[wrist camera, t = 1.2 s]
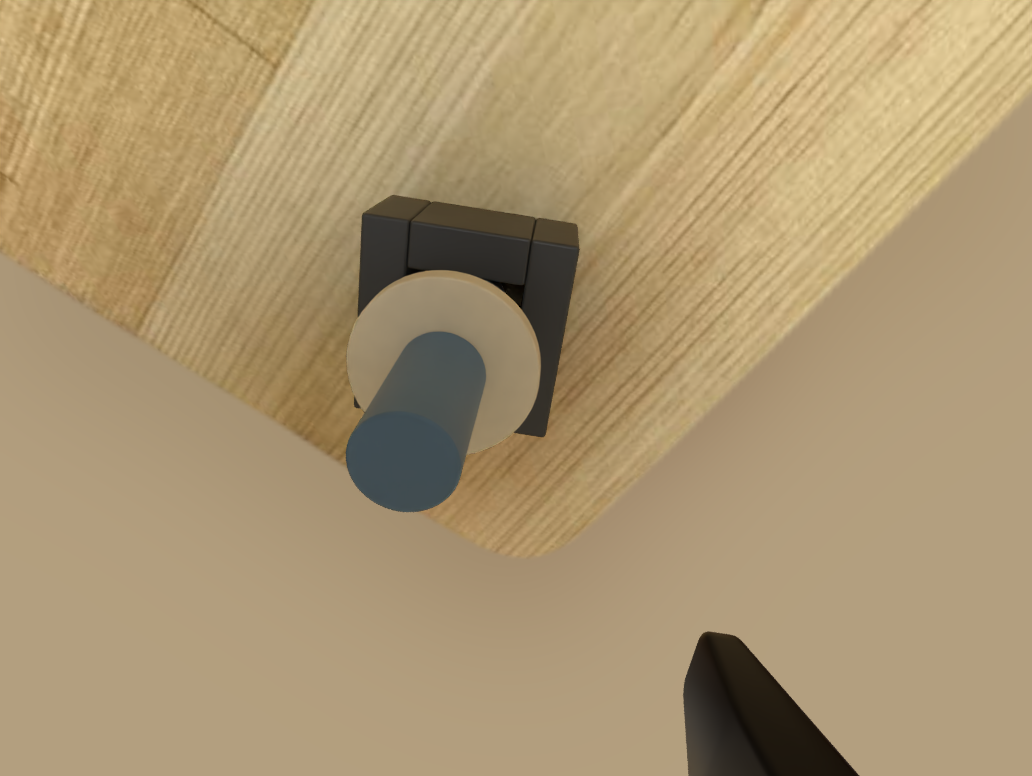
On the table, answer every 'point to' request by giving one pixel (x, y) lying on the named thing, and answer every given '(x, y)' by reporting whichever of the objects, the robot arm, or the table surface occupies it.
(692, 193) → the table surface
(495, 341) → the peg
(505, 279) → the stand
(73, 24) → the table surface
